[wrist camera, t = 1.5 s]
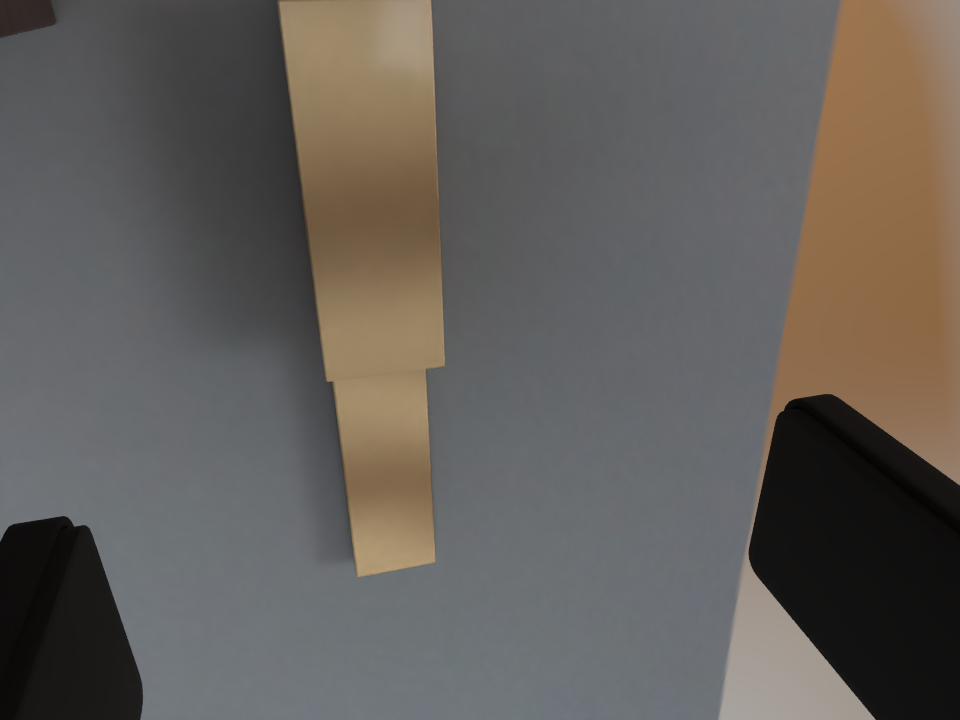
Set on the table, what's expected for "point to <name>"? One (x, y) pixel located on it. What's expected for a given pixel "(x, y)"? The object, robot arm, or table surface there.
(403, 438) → the tan block
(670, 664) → the table surface
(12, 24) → the stand
